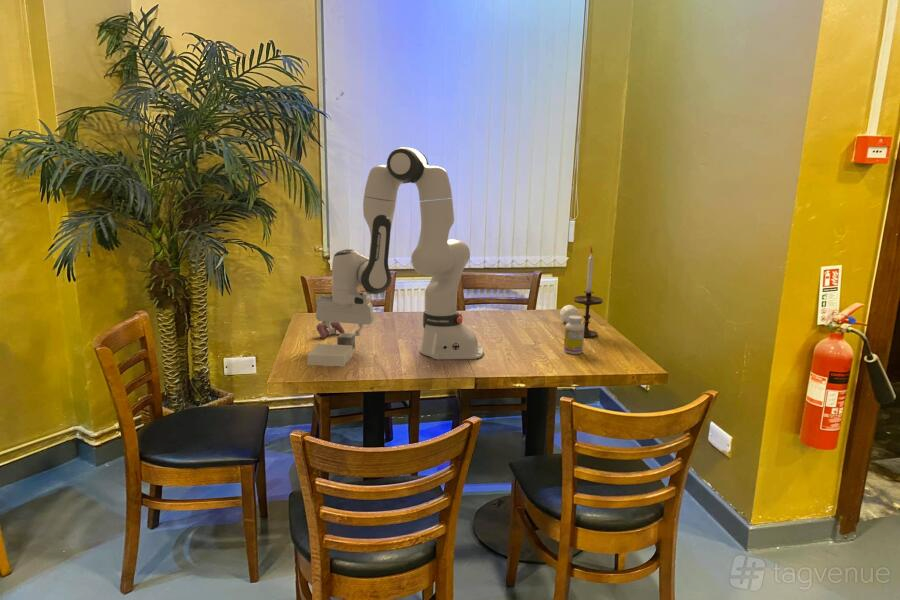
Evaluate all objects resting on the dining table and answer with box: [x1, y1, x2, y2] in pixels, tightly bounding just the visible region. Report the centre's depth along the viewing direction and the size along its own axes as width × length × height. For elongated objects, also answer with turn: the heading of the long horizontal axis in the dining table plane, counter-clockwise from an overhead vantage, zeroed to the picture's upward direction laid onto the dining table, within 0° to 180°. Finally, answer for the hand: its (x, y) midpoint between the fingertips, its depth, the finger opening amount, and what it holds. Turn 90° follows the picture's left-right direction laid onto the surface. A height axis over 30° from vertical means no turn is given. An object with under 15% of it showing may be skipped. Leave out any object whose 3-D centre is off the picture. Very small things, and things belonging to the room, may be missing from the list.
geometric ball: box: [559, 304, 580, 324], centre depth 264 cm, size 8×8×8 cm
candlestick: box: [573, 246, 603, 339], centre depth 244 cm, size 11×11×35 cm
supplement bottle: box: [563, 315, 585, 355], centre depth 225 cm, size 7×7×13 cm
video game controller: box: [316, 321, 345, 340], centre depth 240 cm, size 10×5×7 cm, turn 135°
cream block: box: [306, 343, 354, 368], centre depth 212 cm, size 12×12×4 cm
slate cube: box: [336, 333, 356, 350], centre depth 224 cm, size 5×5×5 cm
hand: (344, 334), depth 225 cm, fingers open, 8 cm apart
